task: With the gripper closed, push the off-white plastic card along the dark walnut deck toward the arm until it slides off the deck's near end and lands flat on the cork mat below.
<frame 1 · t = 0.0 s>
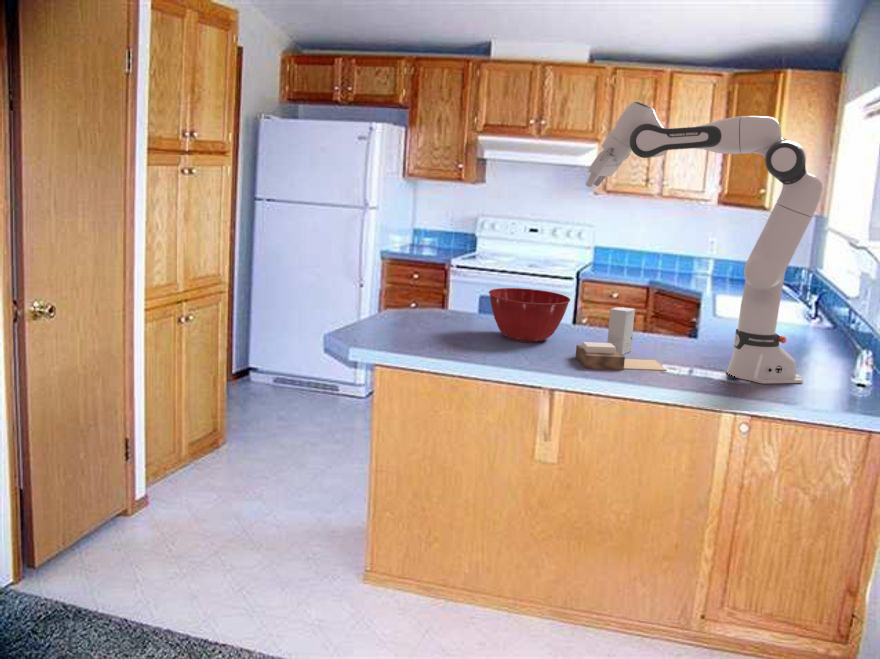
hand: (591, 185, 283), 54 cm above the counter, tool tilted 30°, fingers open, 8 cm apart
card: (598, 350, 276), point 4 cm above the counter, touching deck
deck: (598, 363, 277), on the counter
mat: (639, 364, 278), on the counter
skincare box: (618, 352, 294), on the counter
mixing bowl: (525, 338, 307), on the counter
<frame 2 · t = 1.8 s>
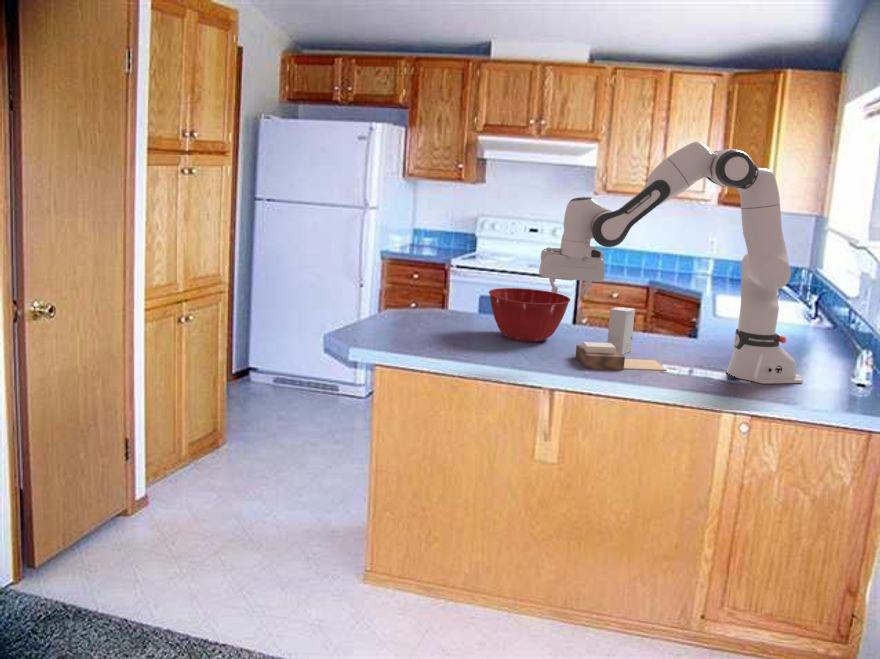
hand: (569, 293, 273), 22 cm above the counter, tool pointing down, fingers open, 8 cm apart
nothing on the counter moved.
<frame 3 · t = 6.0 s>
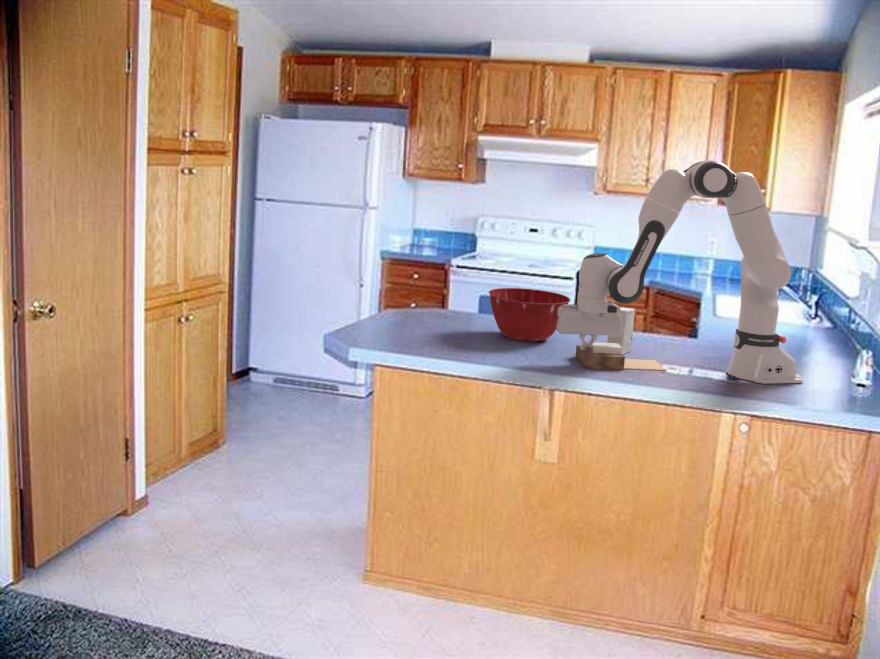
hand: (587, 348, 275), 5 cm above the counter, tool pointing down, fingers closed
card: (605, 351, 276), point 4 cm above the counter, touching gripper
everything else where it was.
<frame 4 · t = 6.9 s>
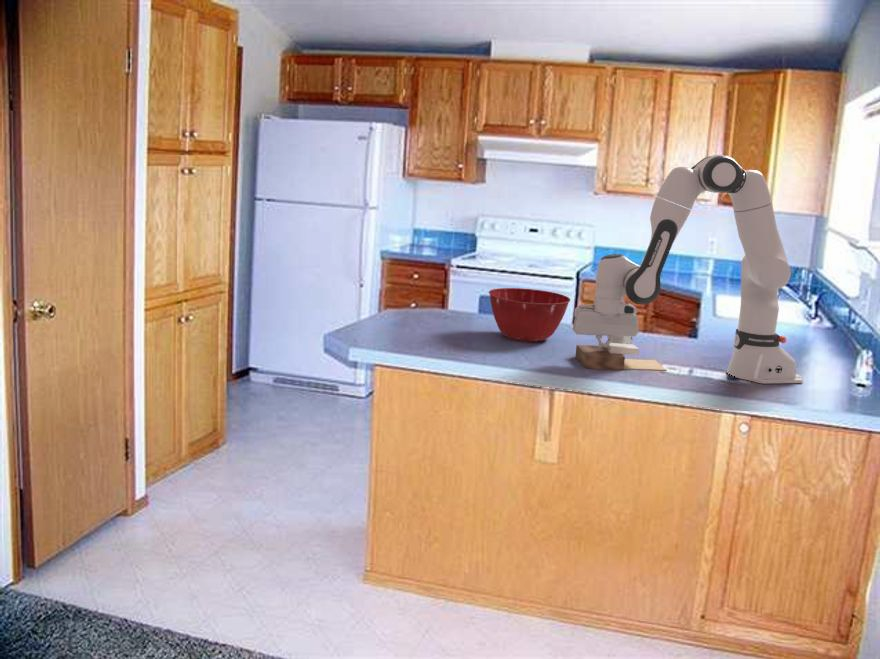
hand: (603, 348, 276), 5 cm above the counter, tool pointing down, fingers closed
card: (621, 351, 277), point 4 cm above the counter, touching gripper
everything else where it was.
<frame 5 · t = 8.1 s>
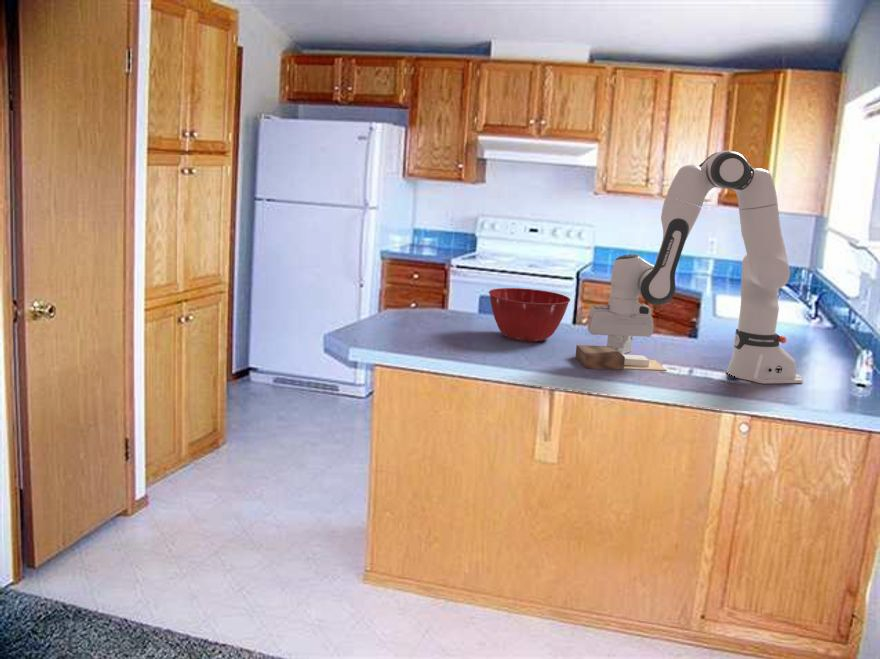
hand: (618, 349, 276), 5 cm above the counter, tool pointing down, fingers closed
card: (632, 363, 278), resting on mat
everything else where it was.
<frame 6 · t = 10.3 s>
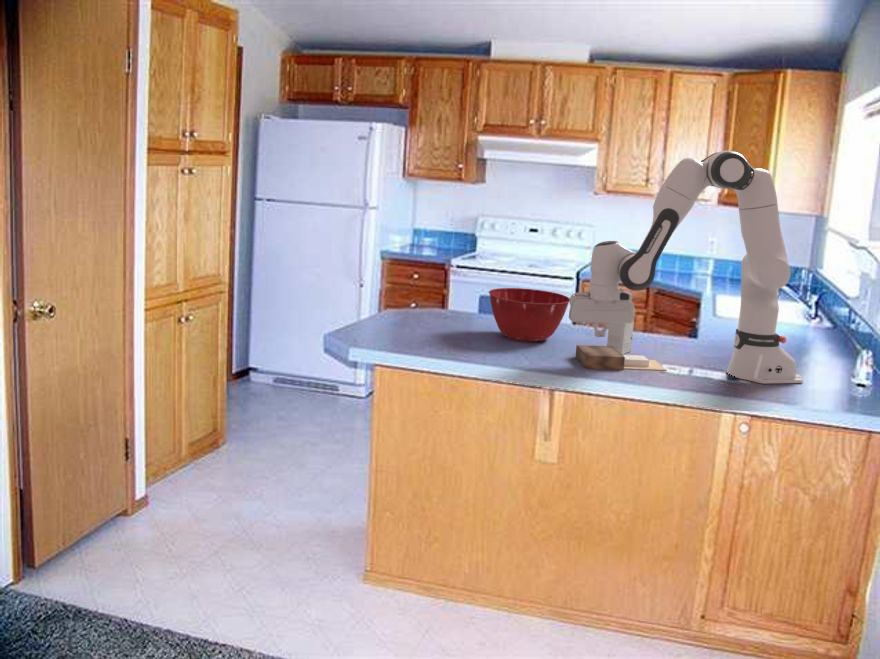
hand: (599, 336, 276), 9 cm above the counter, tool pointing down, fingers closed
nothing on the counter moved.
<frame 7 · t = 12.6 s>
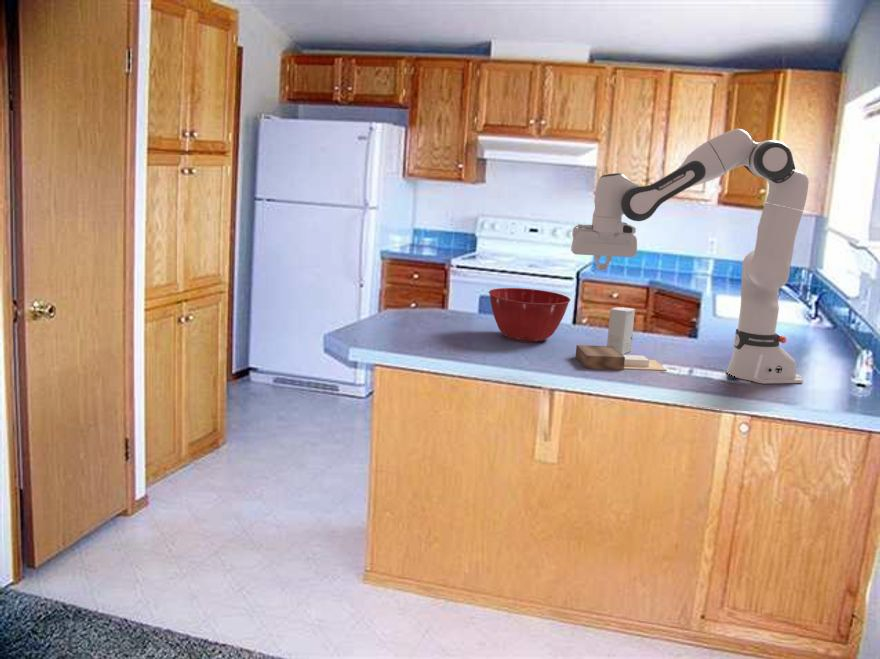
hand: (601, 270, 274), 29 cm above the counter, tool pointing down, fingers closed
nothing on the counter moved.
at the end: card resting on mat; card inside the target area (2.3 cm from its centre), resting on mat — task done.
